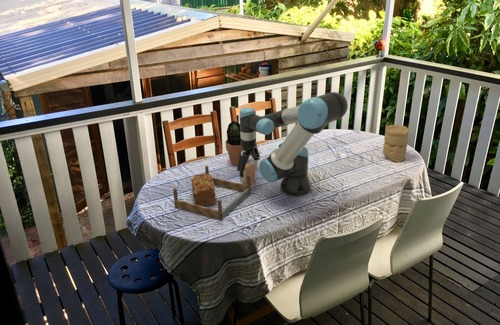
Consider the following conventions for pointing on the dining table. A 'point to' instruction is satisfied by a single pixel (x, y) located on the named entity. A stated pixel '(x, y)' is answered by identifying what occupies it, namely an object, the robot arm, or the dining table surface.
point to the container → (395, 142)
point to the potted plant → (234, 142)
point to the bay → (218, 213)
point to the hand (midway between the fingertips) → (249, 176)
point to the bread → (203, 190)
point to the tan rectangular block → (250, 173)
